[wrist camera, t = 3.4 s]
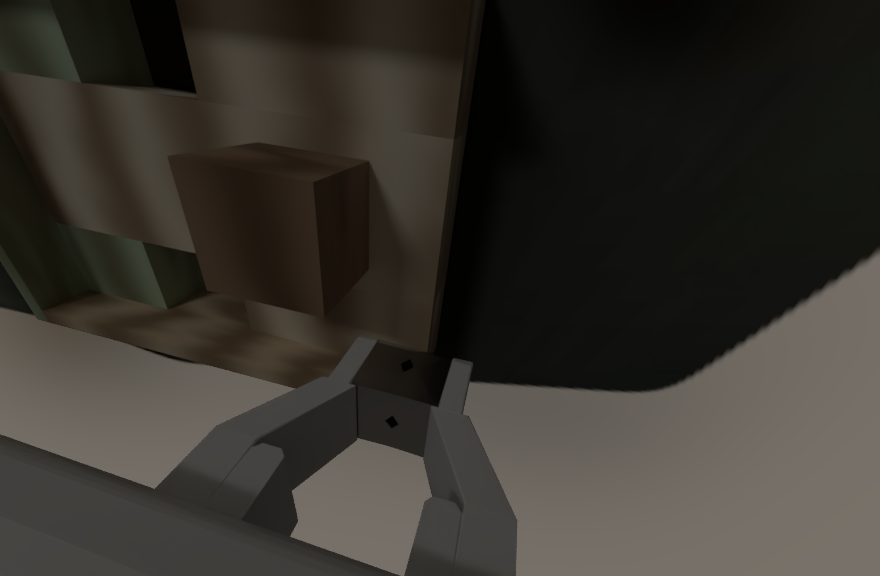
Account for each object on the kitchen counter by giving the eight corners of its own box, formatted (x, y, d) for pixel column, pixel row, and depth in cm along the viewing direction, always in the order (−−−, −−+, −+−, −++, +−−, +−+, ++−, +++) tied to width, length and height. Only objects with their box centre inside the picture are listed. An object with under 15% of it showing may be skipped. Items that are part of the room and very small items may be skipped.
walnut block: (274, 249, 20) (206, 290, 15) (257, 142, 17) (166, 155, 12) (368, 269, 19) (324, 318, 15) (369, 160, 16) (313, 182, 12)
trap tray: (135, 275, 29) (37, 319, 24) (-9, -69, 18) (-266, -152, 12) (436, 346, 26) (410, 419, 20) (489, -27, 15) (467, -115, 9)
